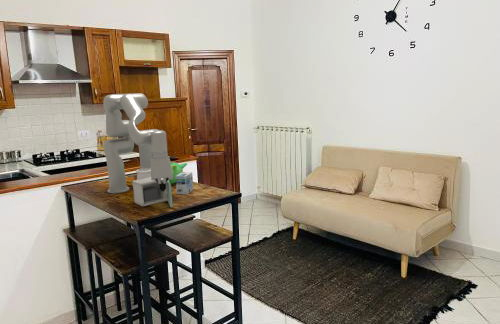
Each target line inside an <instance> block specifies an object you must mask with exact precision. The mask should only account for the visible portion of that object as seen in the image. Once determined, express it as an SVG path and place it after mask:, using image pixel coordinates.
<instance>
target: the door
mask: <svg viewBox="0 0 500 324" xmlns="http://www.w3.org/2000/svg"><path fill="white" fill-rule="evenodd" d="M173 192H174V189H173V187H172V184H170V182H169V180H168V181H167V182H166V195H167V202H168V205H169V207H170V208H173V207H174V206H173V197H172V196H173V195H172V194H173Z"/></svg>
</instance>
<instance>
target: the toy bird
mask: <svg viewBox="0 0 500 324" xmlns="http://www.w3.org/2000/svg"><path fill="white" fill-rule="evenodd" d="M170 162H171V168H172V176H173V179H170V180H169V182H170V184H171V185H174V184H176V178H175V176H177V175H178V174H180V173H181V172H184V170H183V169H184V168H185V167H186V166H187V165H188V162H183V163H181V164H179V163H177V162H174V161H170Z"/></svg>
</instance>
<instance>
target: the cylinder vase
mask: <svg viewBox="0 0 500 324" xmlns="http://www.w3.org/2000/svg"><path fill="white" fill-rule="evenodd" d="M137 146H138V154H139V164H140V169H141V168H151V159H152V157H151V156H149V154H151V153H152V147H151V144H149V145H143V146H139V145H137Z"/></svg>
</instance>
